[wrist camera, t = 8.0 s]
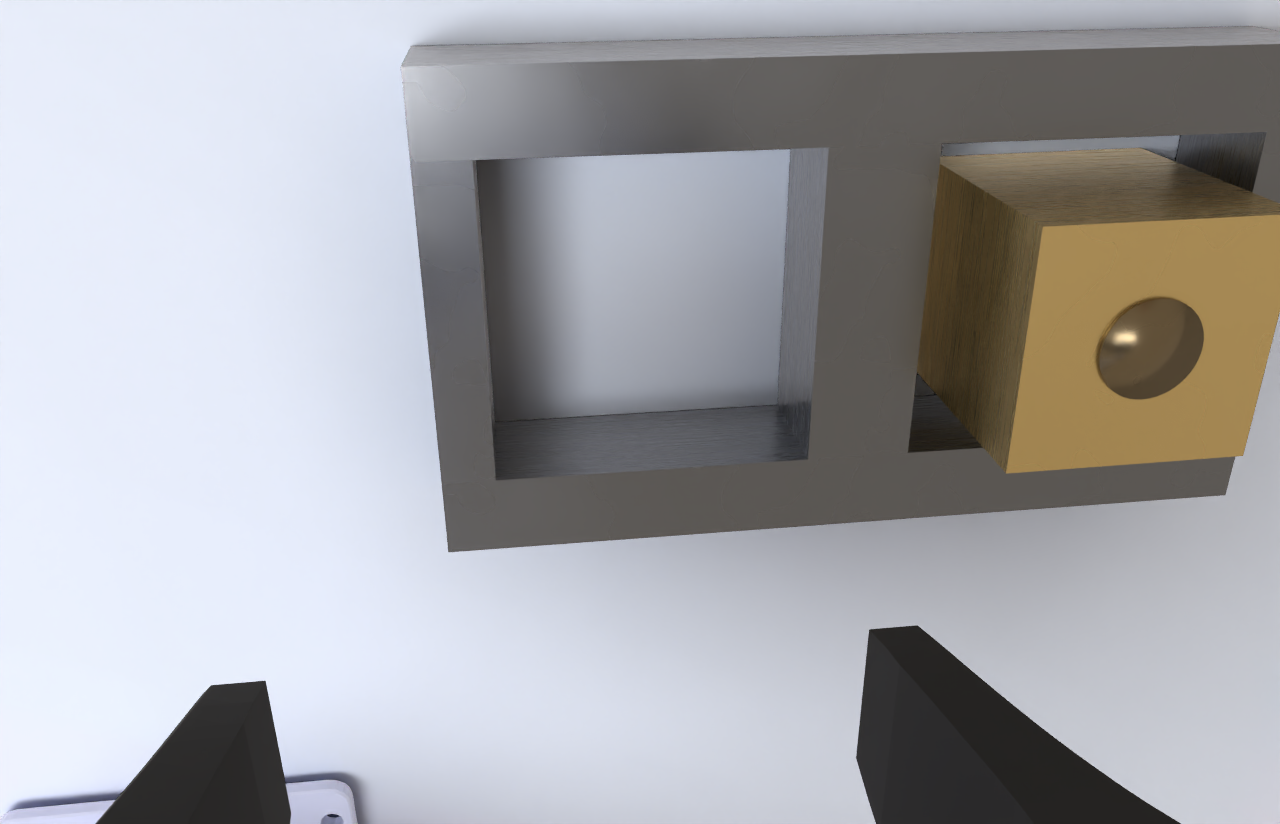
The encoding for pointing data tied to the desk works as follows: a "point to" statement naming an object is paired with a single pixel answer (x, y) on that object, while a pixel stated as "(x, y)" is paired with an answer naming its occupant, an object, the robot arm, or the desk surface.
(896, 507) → the grey metal flat frame
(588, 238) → the desk surface
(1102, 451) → the nut block
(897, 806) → the robot arm
